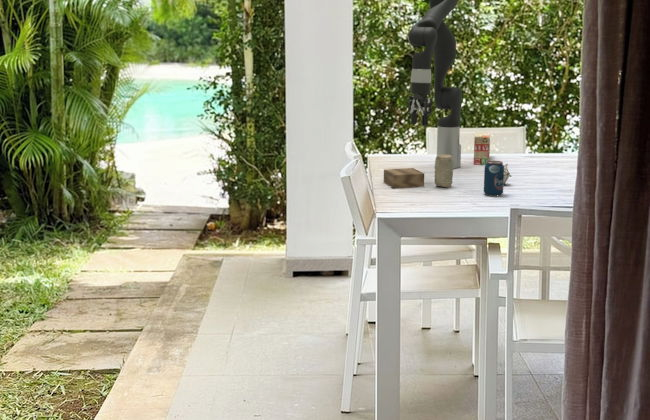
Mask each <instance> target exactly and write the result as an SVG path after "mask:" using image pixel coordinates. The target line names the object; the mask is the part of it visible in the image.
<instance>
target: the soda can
mask: <svg viewBox="0 0 650 420" xmlns="http://www.w3.org/2000/svg"><path fill="white" fill-rule="evenodd" d="M503 165H504V164H503V161H500V160H489V161H487V162H486V165H484V170H483V171H484V173H483V174H484V175H483V179H484V181H483V192H484V194H485V195H486V196H487V195H491V196H490V197H498V196H497V195H500V196H502V194H503V193H504V184H503V181H504V166H503Z"/></svg>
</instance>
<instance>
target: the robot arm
mask: <svg viewBox="0 0 650 420" xmlns="http://www.w3.org/2000/svg"><path fill="white" fill-rule="evenodd" d="M428 1H429V8H430V9H428V10H427V11H426V12H425V13H424V15H423V17H422V18H421V20H420V21H418V22H417V23H415V24H414V25H413V26H412V27H411V28H410V29H409V31H408V35H407V37H408V42H409V44H410V45H412V46H414V47H425V48H424V50H423V51H421V52H420V51H419V52H415V53H414V54H412V61H411V62H412V63H411V65H412V67H411V73H410V90H409V91H410V93H409V94H411V95H409V96H408V106H407V111H408V113H410V124H411V125H416V124H417V123H418V111H419V112H421V113H420V114H421V126H423V127H427V126H428V124H429V121H428V118H429V115H432V113H433V112H432V111H433V108H432V107H433V100H432V97H428V95H431V92H432V90H431V89H432V88H431V87H432V58H433V68H434V70H433V71H434V72H433V73H434V80H433V81H434V85H433V86H434V87H433V99H434V105H435V108H436V109H438V110H446V111H447V110H450V114H448V115H446V116H444V117H440V118H438V119H437V130H436V131H437V132H436V134H437V135H436V137H437V138H436V156H437V155H445V154H446V155H451V156H452V157H453V169H458V168H461V164H462V163H461V161H462V160H461V159H462V144H460V137H461V136H460V133H461V132H460V129H461V115H462V103H463V93H462V89H461V88H460V87H455V86H453V87H452V86H445V79H446V76H447V73H448V72H449V70H450V68H451V67H452V65H453V63H454V62H455V60H456V57H457V44H456V43H457V42H456V37H455V35H454V34H453V32H452V30H451V29H450V28H449V26H448V25H447V24H446V22H445V20H444V19H445V18H446V17H447V16H448V15H449V14H450V13H451V12H452V11H453V10H454V9H455V8H456V6H457V5H458V4H459V0H428ZM432 56H433V57H432Z"/></svg>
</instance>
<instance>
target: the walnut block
mask: <svg viewBox="0 0 650 420" xmlns="http://www.w3.org/2000/svg"><path fill="white" fill-rule="evenodd" d="M383 183H384V184H385V185H387V186H389V187H391V188H392V189H406V188H407V189H409V188H423V187H425V173H424V172H422V171H420V170H417V169H416V168H415V167H408V168H407V167H406V168H405V167H404V168H387V169H383Z"/></svg>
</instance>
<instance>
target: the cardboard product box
mask: <svg viewBox="0 0 650 420" xmlns="http://www.w3.org/2000/svg"><path fill="white" fill-rule="evenodd" d="M474 134H475V135H474V142H473V144H474V145H473V163H472V164H473V166H485V165H486V162H487V161H490V149H491V137H490V136H491V135H490V134H491V133H490V132H475V133H474Z"/></svg>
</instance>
